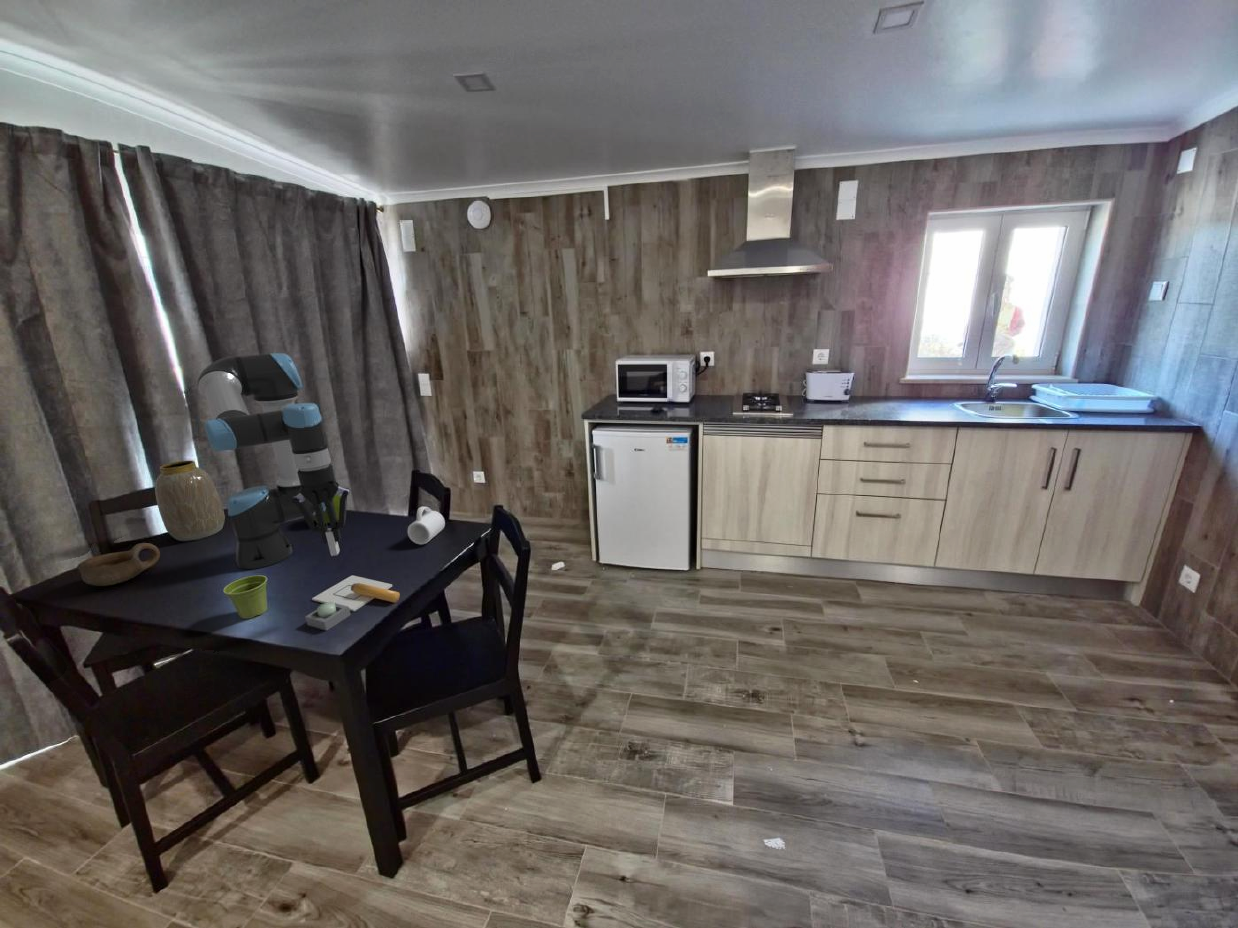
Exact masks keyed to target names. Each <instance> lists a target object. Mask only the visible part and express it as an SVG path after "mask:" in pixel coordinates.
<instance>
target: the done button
mask: <svg viewBox="0 0 1238 928" xmlns="http://www.w3.org/2000/svg"><path fill="white" fill-rule="evenodd" d="M316 610H317V611H318V615H319V617H320V618H323V619H326V618H328V617H329V616H331V615H333V614H334V613H336V612H337V611H336V607H335V603H333V602H327V603H321V604H320V605H318V606H317V608H316Z"/></svg>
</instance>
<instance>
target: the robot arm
mask: <svg viewBox="0 0 1238 928" xmlns="http://www.w3.org/2000/svg"><path fill="white" fill-rule="evenodd" d="M196 383H197V385H196V386H197V389H198V392H199V394H200V395H201V396H202V398H204V399H205V400H206V402H207V406H208V408H209V412H210V414H211V418H212V419H209V420H207V421H205V422H204V429H205V430H204V431H205V432H206V436H207V439H208V442H209V447H210V448H211V450H213V451H215V452H222V451H233V450H237V449H243V448H249V447H254V446H258V445H259V446H260V445H265V444H270V443H271V447H272V451H273V454H274V455H273V456H274V458H275V463H276V465H277V469H278V473H279V478H278V479H277V481H276V483H275V485H276V488H270V487H269V486H267V485H256V486H253V487H249V488H245V489H242V490H241V491H238V492H236V493H235V494H233V495H230V497H228V499H227V501H226V508H227V516H229V518H230V522H231V525H232V528H233V531H234V534H235V538H236V541H237V544H236V552H235V553H236V554H235V562H236V565H237V567H238V569H243V570H255V569H262V568H265V567H268V566H273V565H275V564H278V563H280V562H281V561H284V560H285V559H287V558H289V557H290V556H291V555H292V554H293V547H292V545H291V543H290V541H289V540H288V538H287V537H286V536H285V535H284V534H283V532H282V531H281V527H280V524H285V523H289V522H292V521H296V520H300V519H304V520H305V522H306V523H307V526H308V527H309V528H310V531H312V532H318V533H320V534H321V538H322V542H323V544H327V545H328V549H329V552H330V556H331V557H333V556H338V555H339V554H340V550H341V549H340V546H339V543H338V542H340V541H341V537H342V536H341V532H340V528H343V527H344V526H345V524H346V521H347V508H348V507H347V506H348V505H347V504H348V501H347V500H348V496H349V495H350V493H351V492H350V491H351V490H350V488H348V487H347V488H344V487H341V486H340V484H339V483H338V482H337V480H336V477H335V472H334V468H333V465H332V464H331V462H332V459H331V456H330V451H329V447H328V442H327V440H326V435H325V430H324V425H323V421H322V419H323V417H322V415H321V413H320V408H319V407H318V405H317V404H316V403H314V402H313V403H312V402H302V403H295V401H296V400H297V398H298V397H299V392H298V391H301V390H302V389H303V385H302V384H303V383H302V380H301V376H300V375H299V372H298V369H297V368H296V366H295V363H294V361H293V360H292V358H291V357H290V355H288V354H286V353H279V352H278V353H262V354H251V355H240V356H239V355H238V356H228V357H227V356H226V357H224V358H223V357H222V358H220V359H218V360H215V361H214V362H212V363H210V364H209V365H208V366H207V365H206V367H205V368H203V370H202V371H201V372H200V374H199V376H198V379H197V382H196ZM248 396H249V397H250V396H252V397H253V401H254V402H255V403H256V404H259V405H260V406H261V409H262V411H263V412H258V413H253V414H250V412H249V411H248V407H247V405H246V403H245V401H244V399H243V397H248ZM335 494H337V495H339V496H340V497H341V498H340V505H339V521H337V516H336V512H335V508H334V504H333V498H334V496H335ZM325 509H326V510H327V514H328V518H329V522H330V523H329V525H330V528H328V527H329V525H328V524H327V523H326V519H325V515H324V511H325ZM313 515H316V517H317V521H318V522H317V521H316V519H315V517H314V516H313Z"/></svg>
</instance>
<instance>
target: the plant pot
mask: <svg viewBox="0 0 1238 928" xmlns="http://www.w3.org/2000/svg"><path fill="white" fill-rule="evenodd" d="M267 582H268V577H267V576H265V575H262V574H259V575H250V576H246V577H242V578H240V579H237V580H234V581H232V582H230V583H229V584H227V585H226V586H224V588H223V590H222V592H223V593H224V594H225V595H226V596H227V597H228V598H229V599H230V601H231V603H232V605H233V607H234V609H235V610H236V612H237V614H238V616H239V617H240V618H241V619H243V620H248V619H253V618H254V617H256V616H260V615H261V616H262V615H263V614H264V613H266V611H268V601H267V600H268V599H267V588H266V587H267Z"/></svg>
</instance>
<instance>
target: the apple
mask: <svg viewBox="0 0 1238 928" xmlns="http://www.w3.org/2000/svg"><path fill="white" fill-rule="evenodd" d="M340 498H341V497H340V496H339V495H338V493H336V494H335V496H334V498H333V504H334V508H335V512H336V516H337V521H338V522H339V505H340ZM324 515H325V519H326V523H327V525H328V524H330V522H329V518H328V514H327V510H326V509H325V511H324ZM313 516H314V517H315V519H316V521H317V517H316V515H313ZM317 523H318V521H317Z"/></svg>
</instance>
